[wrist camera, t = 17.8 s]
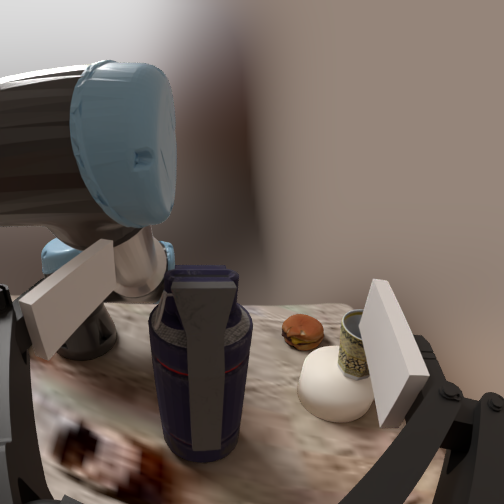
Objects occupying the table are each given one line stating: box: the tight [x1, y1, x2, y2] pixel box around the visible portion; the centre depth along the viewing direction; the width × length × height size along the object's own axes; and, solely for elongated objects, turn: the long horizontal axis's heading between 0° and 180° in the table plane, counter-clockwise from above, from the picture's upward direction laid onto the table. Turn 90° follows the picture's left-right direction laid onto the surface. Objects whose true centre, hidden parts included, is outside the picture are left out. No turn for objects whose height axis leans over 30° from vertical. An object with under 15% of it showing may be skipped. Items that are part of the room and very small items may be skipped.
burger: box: [282, 314, 324, 351], centre depth 72 cm, size 10×9×5 cm
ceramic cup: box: [337, 310, 370, 381], centre depth 52 cm, size 13×10×10 cm
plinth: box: [297, 346, 374, 423], centre depth 56 cm, size 15×15×6 cm
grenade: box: [148, 265, 253, 463], centre depth 39 cm, size 14×12×30 cm
